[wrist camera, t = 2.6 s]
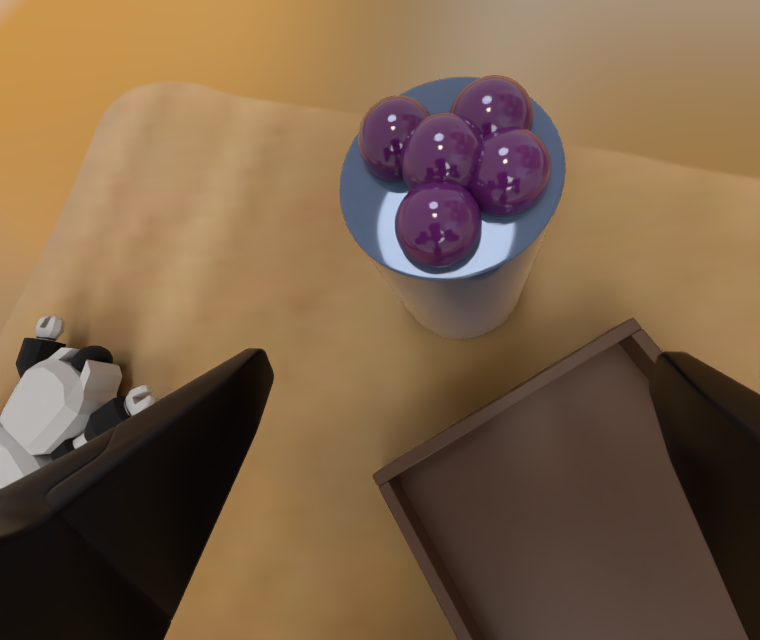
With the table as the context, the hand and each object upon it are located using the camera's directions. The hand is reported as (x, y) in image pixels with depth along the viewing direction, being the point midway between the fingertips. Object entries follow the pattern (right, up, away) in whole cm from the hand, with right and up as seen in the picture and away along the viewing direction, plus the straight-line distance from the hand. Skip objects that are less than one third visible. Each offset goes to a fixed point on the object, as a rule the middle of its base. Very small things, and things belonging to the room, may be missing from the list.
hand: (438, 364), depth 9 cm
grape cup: (+3, +3, +13) cm, 14 cm away
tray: (+9, -10, +9) cm, 16 cm away
